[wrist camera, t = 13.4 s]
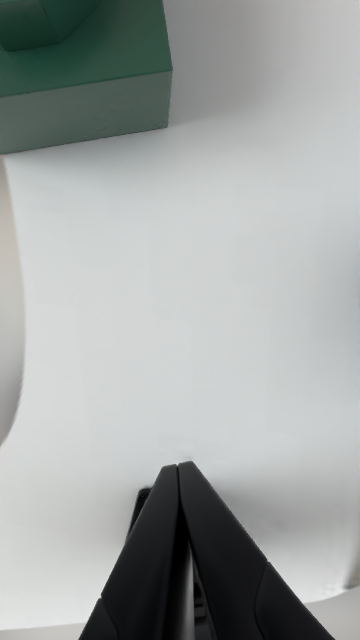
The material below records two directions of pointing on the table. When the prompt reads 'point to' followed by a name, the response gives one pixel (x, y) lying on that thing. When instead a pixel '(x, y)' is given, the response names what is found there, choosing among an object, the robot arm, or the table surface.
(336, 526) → the table surface
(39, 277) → the table surface
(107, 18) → the button housing
